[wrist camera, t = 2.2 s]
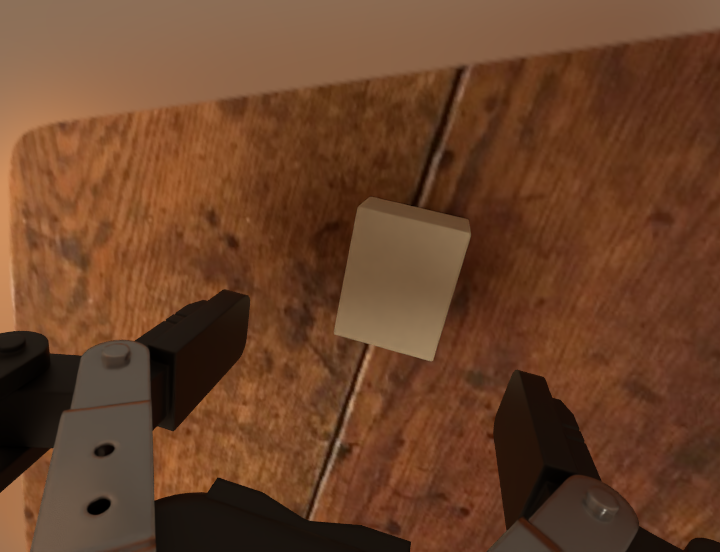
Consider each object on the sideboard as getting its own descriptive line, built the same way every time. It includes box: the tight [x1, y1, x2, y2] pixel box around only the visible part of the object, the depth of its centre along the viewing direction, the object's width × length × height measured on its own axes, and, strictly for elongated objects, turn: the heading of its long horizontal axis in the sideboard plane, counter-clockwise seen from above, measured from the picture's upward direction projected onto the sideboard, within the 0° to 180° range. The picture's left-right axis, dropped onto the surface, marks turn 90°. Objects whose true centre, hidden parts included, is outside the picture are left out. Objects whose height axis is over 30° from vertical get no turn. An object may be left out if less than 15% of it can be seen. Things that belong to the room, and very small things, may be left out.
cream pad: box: [334, 197, 471, 361], centre depth 19 cm, size 6×5×3 cm
